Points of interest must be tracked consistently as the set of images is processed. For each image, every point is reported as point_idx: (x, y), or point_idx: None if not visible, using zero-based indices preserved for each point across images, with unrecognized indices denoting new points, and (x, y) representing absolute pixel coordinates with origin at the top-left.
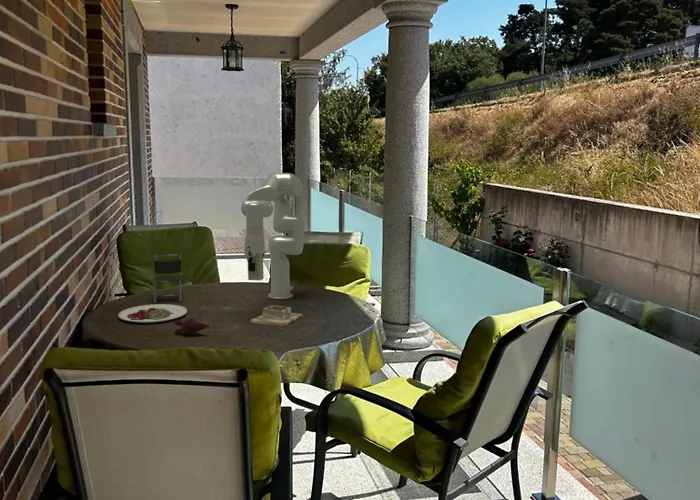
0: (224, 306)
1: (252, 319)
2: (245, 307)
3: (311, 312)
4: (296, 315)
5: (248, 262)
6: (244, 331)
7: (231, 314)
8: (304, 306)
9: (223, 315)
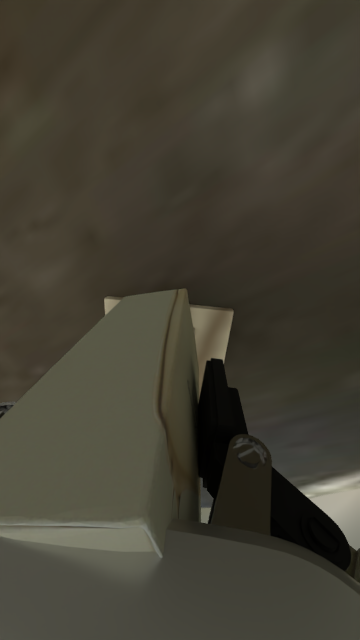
0: (284, 39)
1: (109, 301)
2: (286, 169)
3: (267, 401)
4: (199, 391)
5: (8, 409)
6: (28, 319)
7: (164, 174)
8: (335, 365)
9: (138, 148)
